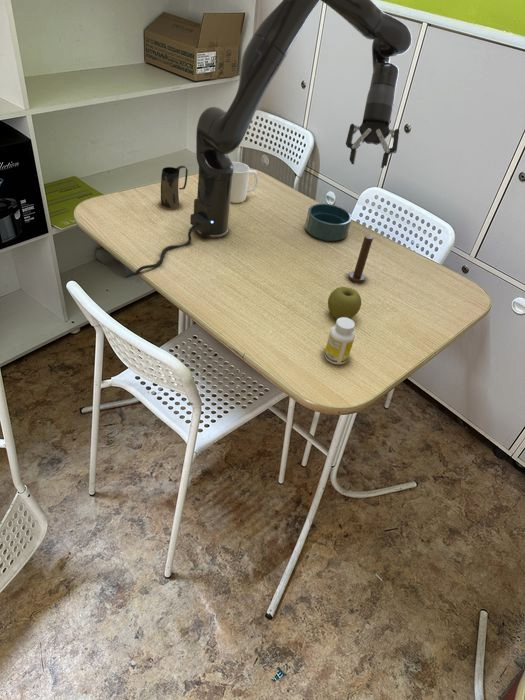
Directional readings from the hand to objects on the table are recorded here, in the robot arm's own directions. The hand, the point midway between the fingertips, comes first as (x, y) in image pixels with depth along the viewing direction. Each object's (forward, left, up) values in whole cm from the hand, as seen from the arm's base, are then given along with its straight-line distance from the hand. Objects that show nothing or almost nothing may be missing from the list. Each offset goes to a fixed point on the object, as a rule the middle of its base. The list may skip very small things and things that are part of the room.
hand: (367, 165), depth 148 cm
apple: (-36, -25, -22) cm, 49 cm away
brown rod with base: (-19, -17, -21) cm, 34 cm away
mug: (-36, +42, -22) cm, 59 cm away
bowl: (-6, +5, -21) cm, 23 cm away
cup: (-14, +36, -22) cm, 44 cm away
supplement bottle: (-49, -34, -22) cm, 64 cm away
